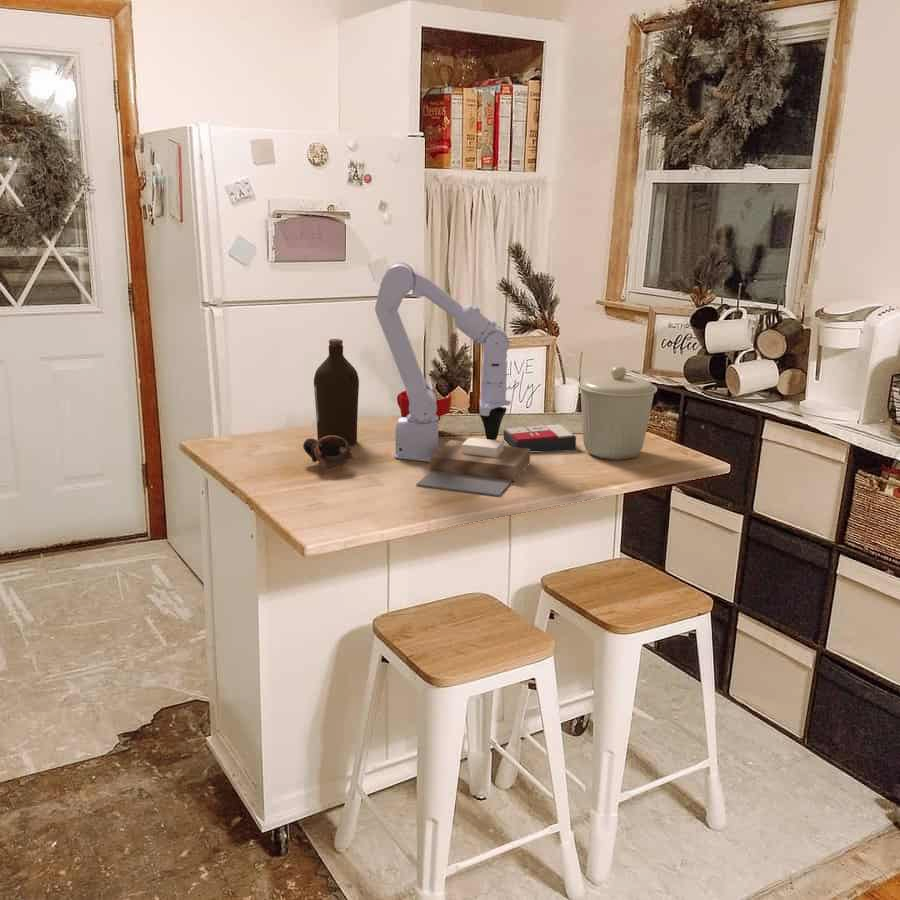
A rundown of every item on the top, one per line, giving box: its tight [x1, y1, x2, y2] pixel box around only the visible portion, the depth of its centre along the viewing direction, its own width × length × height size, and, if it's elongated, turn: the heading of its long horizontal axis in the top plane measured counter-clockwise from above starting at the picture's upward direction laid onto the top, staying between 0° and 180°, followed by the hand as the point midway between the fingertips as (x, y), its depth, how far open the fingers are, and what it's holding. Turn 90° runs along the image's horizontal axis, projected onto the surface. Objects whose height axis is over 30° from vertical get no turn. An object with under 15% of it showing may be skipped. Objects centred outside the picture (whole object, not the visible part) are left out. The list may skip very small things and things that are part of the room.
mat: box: [415, 471, 512, 497], centre depth 189 cm, size 18×10×1 cm, turn 72°
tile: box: [461, 437, 505, 457], centre depth 199 cm, size 8×6×2 cm
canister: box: [577, 365, 658, 461], centre depth 209 cm, size 18×18×21 cm
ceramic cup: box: [396, 388, 452, 424], centre depth 226 cm, size 13×17×10 cm
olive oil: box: [313, 338, 360, 449], centre depth 213 cm, size 11×11×25 cm
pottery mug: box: [302, 435, 354, 474], centre depth 197 cm, size 12×10×8 cm
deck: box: [429, 439, 531, 482], centre depth 199 cm, size 19×14×4 cm
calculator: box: [503, 423, 577, 452], centre depth 218 cm, size 11×4×15 cm
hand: (491, 439), depth 206 cm, fingers closed
